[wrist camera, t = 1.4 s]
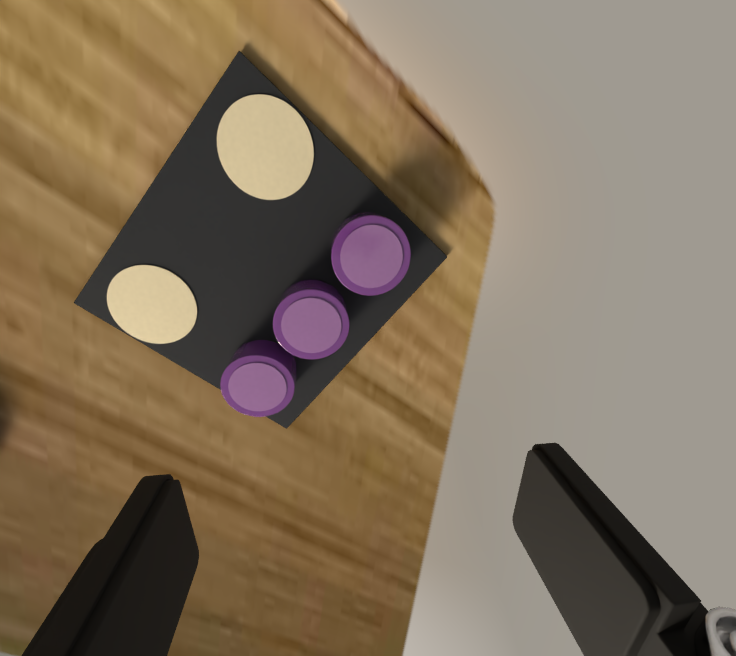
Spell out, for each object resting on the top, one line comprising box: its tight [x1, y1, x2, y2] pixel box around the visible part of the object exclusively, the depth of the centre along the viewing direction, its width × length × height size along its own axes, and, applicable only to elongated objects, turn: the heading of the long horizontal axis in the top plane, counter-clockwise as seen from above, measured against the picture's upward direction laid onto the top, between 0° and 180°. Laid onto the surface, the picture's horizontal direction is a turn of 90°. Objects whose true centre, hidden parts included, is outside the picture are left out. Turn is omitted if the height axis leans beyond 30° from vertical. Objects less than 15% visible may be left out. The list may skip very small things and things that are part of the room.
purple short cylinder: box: [331, 212, 411, 296], centre depth 29 cm, size 6×6×3 cm
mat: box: [74, 51, 447, 429], centre depth 30 cm, size 22×24×1 cm
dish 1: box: [220, 340, 297, 417], centre depth 32 cm, size 6×6×3 cm
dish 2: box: [273, 280, 349, 359], centre depth 30 cm, size 6×6×3 cm
